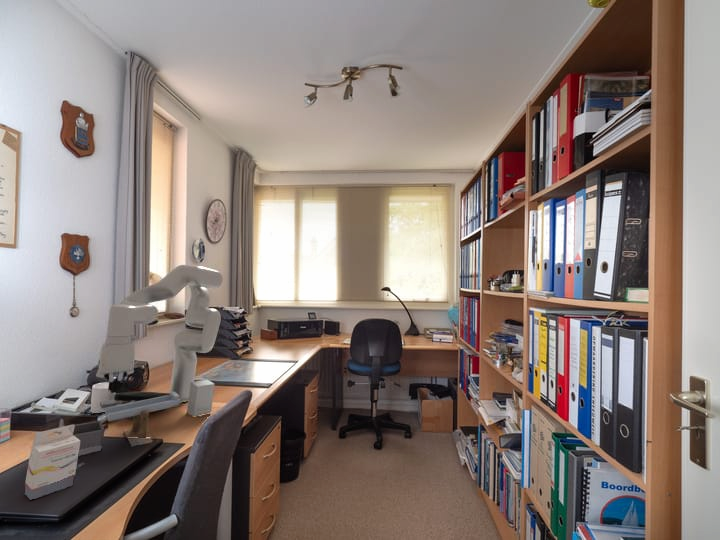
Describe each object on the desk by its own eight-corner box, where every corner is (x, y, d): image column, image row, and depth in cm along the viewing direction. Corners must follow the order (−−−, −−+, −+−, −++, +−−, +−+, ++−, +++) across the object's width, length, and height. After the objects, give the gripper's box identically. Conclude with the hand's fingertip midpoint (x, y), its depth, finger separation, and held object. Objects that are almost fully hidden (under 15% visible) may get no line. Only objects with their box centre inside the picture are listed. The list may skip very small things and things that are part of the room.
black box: (177, 393, 146) (156, 397, 127) (172, 415, 144) (150, 422, 125) (135, 390, 144) (108, 393, 125) (130, 412, 142) (101, 419, 123)
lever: (166, 393, 130) (167, 384, 130) (179, 406, 119) (180, 396, 119) (99, 407, 115) (100, 396, 115) (107, 422, 104) (107, 411, 104)
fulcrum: (143, 429, 120) (147, 400, 120) (152, 442, 111) (156, 411, 112) (123, 433, 116) (128, 402, 116) (131, 447, 107) (136, 414, 108)
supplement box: (211, 414, 138) (215, 383, 139) (193, 418, 133) (197, 386, 134) (204, 408, 143) (208, 379, 144) (186, 412, 138) (190, 381, 139)
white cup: (99, 416, 126) (103, 389, 127) (83, 412, 128) (87, 386, 128) (118, 409, 134) (122, 384, 134) (102, 405, 136) (106, 381, 136)
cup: (97, 440, 109) (101, 413, 109) (101, 451, 103) (105, 421, 104) (55, 449, 102) (60, 419, 102) (57, 461, 96) (62, 429, 96)
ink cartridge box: (29, 502, 79) (39, 439, 80) (22, 494, 81) (32, 433, 82) (74, 486, 86) (83, 428, 87) (66, 478, 89) (75, 422, 89)
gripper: (141, 336, 125) (136, 385, 125) (91, 338, 114) (84, 392, 114) (146, 340, 120) (140, 391, 119) (94, 343, 109) (87, 399, 109)
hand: (113, 391), depth 117 cm, fingers closed
